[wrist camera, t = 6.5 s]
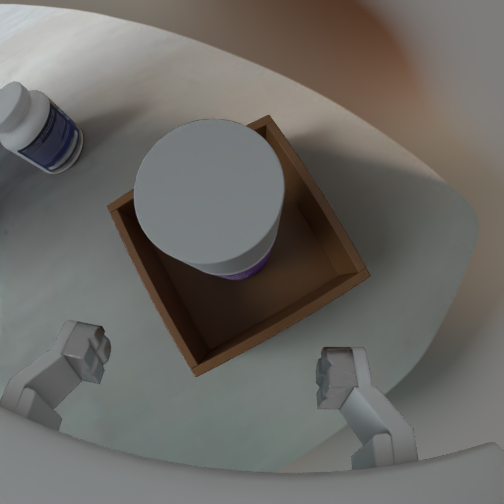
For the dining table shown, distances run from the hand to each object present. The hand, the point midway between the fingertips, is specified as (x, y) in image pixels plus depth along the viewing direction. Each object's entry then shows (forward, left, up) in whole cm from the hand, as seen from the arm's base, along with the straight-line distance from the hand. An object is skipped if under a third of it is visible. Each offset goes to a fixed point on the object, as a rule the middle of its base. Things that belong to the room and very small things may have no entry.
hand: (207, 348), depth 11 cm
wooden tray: (-4, +3, -13) cm, 14 cm away
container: (-4, +3, -12) cm, 13 cm away
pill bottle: (-21, -7, -13) cm, 26 cm away
